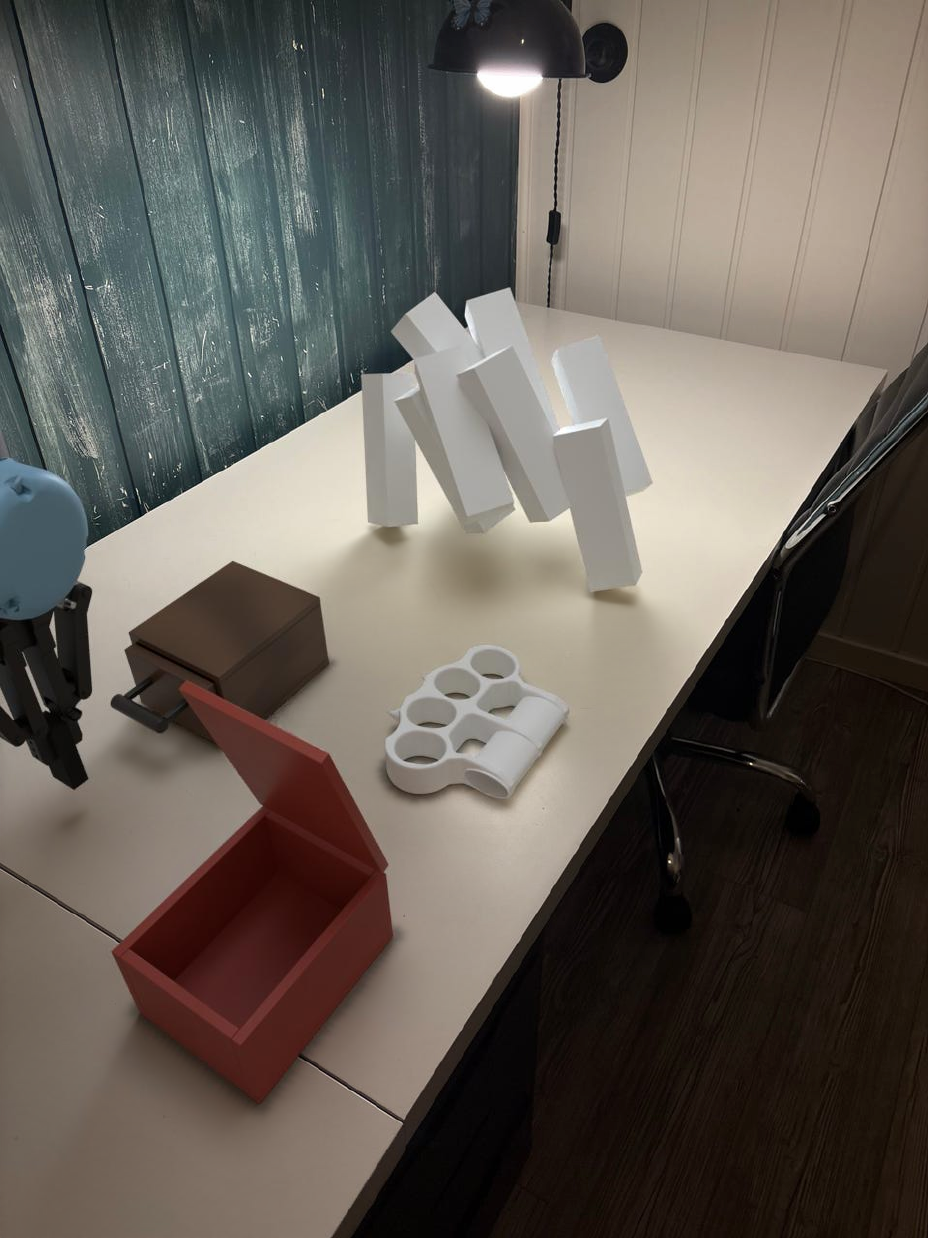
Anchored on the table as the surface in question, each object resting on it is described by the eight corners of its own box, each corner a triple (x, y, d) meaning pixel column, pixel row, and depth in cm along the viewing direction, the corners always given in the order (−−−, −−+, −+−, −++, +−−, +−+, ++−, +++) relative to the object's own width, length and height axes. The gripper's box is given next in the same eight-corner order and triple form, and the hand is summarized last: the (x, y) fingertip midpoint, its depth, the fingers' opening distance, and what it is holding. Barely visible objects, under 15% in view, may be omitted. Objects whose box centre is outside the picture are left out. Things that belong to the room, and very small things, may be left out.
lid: (320, 763, 52) (329, 752, 52) (177, 689, 57) (186, 679, 57) (382, 874, 64) (389, 864, 64) (259, 804, 69) (266, 796, 69)
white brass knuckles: (490, 833, 77) (349, 766, 83) (583, 703, 89) (454, 653, 95) (490, 806, 75) (346, 740, 81) (585, 678, 86) (454, 628, 93)
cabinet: (235, 746, 85) (218, 677, 80) (149, 699, 90) (127, 632, 85) (329, 663, 94) (320, 596, 88) (246, 625, 99) (232, 560, 93)
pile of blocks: (679, 549, 118) (643, 266, 111) (649, 602, 91) (599, 231, 84) (430, 578, 130) (384, 325, 123) (337, 633, 103) (271, 311, 96)
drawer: (184, 775, 81) (167, 720, 77) (106, 729, 86) (86, 675, 81) (308, 668, 92) (300, 615, 88) (233, 633, 96) (221, 581, 92)
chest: (260, 1104, 60) (240, 1046, 55) (139, 1012, 65) (110, 951, 60) (393, 936, 69) (386, 873, 64) (278, 867, 74) (264, 804, 69)
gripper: (-83, 606, 56) (32, 851, 71) (90, 513, 65) (161, 748, 79) (-149, 569, 60) (-27, 810, 74) (24, 485, 68) (103, 715, 83)
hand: (70, 777), depth 77 cm, fingers closed
